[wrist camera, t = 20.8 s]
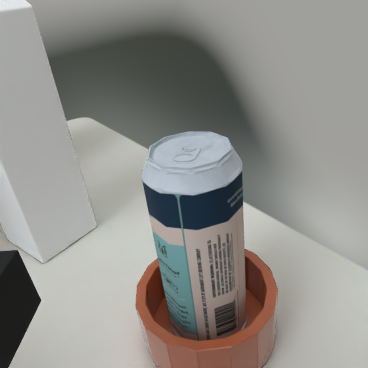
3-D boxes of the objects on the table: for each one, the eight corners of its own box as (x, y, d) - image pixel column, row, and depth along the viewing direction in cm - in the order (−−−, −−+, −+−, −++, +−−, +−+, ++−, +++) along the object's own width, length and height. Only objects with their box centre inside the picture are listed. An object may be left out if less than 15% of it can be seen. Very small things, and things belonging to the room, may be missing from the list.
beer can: (252, 296, 23) (249, 128, 17) (240, 362, 19) (231, 176, 13) (183, 286, 25) (158, 127, 19) (160, 345, 21) (119, 170, 15)
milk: (8, 241, 33) (-125, -34, 22) (62, 208, 37) (-27, -39, 25) (44, 265, 29) (-92, -48, 18) (99, 226, 33) (15, -52, 22)
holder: (299, 315, 22) (302, 274, 21) (222, 425, 17) (218, 384, 16) (200, 262, 27) (196, 226, 26) (119, 336, 22) (107, 298, 21)
